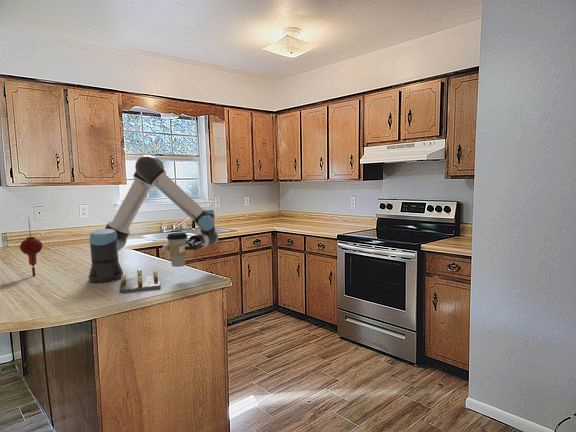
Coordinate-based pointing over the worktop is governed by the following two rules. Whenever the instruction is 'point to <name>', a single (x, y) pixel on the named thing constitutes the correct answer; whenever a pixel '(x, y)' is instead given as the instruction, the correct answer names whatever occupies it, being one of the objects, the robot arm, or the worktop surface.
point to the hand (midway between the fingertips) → (171, 249)
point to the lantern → (31, 249)
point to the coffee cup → (177, 248)
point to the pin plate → (137, 288)
